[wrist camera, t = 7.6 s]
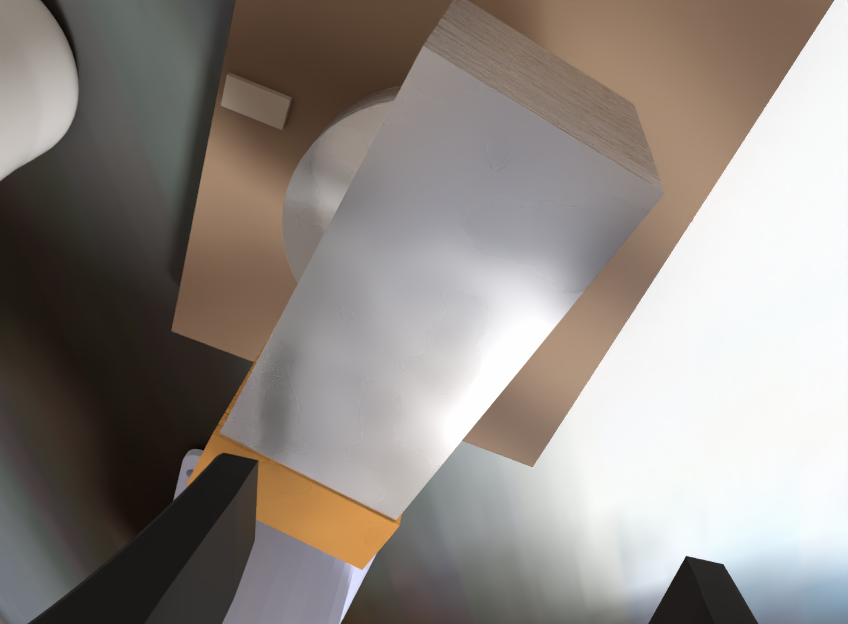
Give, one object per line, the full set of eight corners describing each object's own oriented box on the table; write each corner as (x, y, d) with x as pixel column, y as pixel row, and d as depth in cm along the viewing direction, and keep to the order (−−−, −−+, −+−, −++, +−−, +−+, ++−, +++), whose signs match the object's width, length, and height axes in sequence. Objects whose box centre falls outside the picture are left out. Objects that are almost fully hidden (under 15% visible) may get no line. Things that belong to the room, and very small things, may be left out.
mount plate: (533, 435, 24) (531, 528, 21) (191, 305, 23) (131, 381, 20) (849, -72, 15) (933, -52, 12) (319, -308, 14) (251, -358, 11)
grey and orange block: (679, 118, 14) (740, 240, 9) (443, 420, 19) (410, 593, 14) (407, -53, 13) (334, -7, 9) (234, 312, 18) (130, 460, 13)
